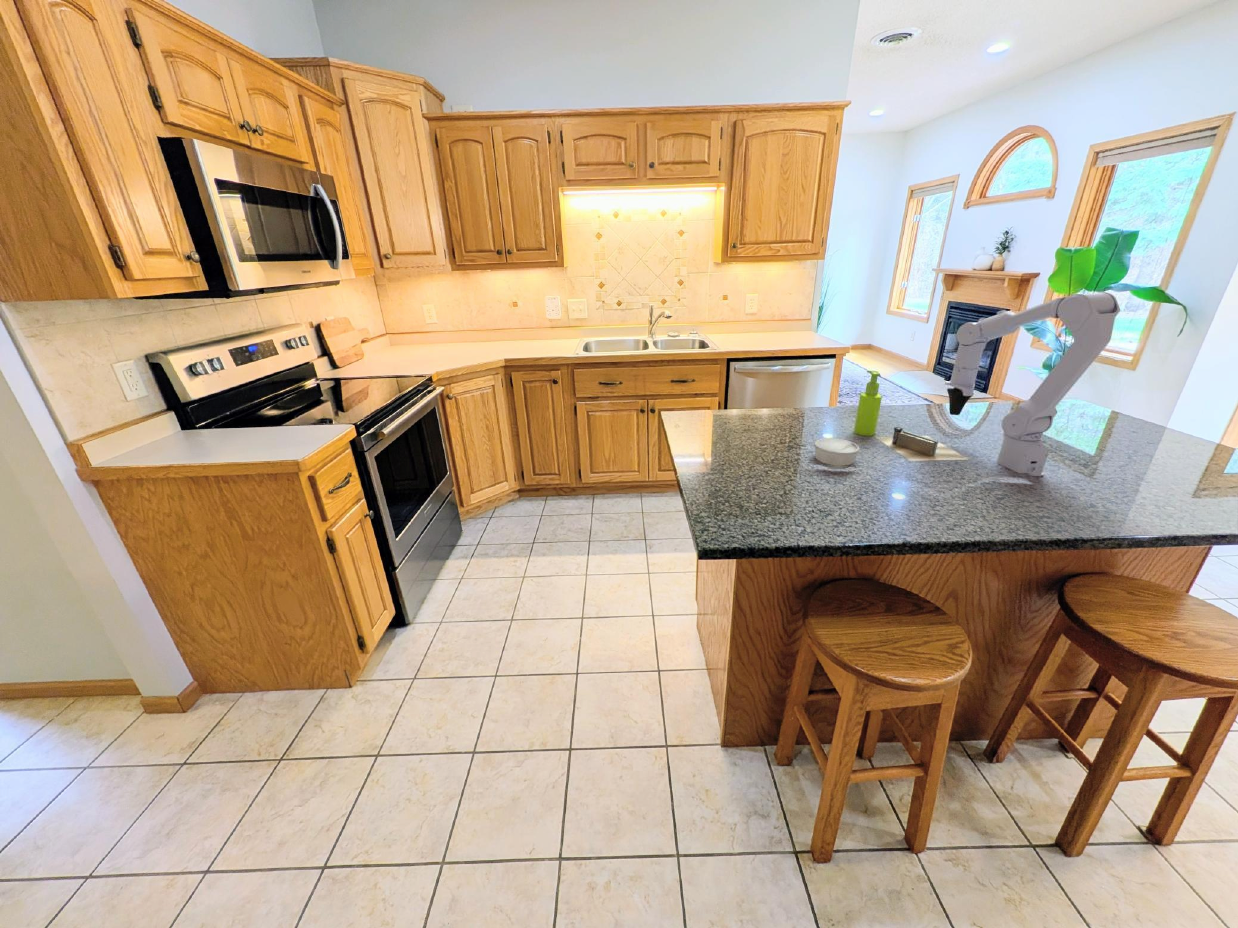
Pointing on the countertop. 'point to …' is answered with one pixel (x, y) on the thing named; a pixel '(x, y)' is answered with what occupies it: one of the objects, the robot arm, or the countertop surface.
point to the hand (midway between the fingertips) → (954, 414)
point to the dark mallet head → (912, 443)
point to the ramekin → (835, 452)
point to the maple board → (940, 454)
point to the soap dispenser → (868, 407)
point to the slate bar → (925, 439)
